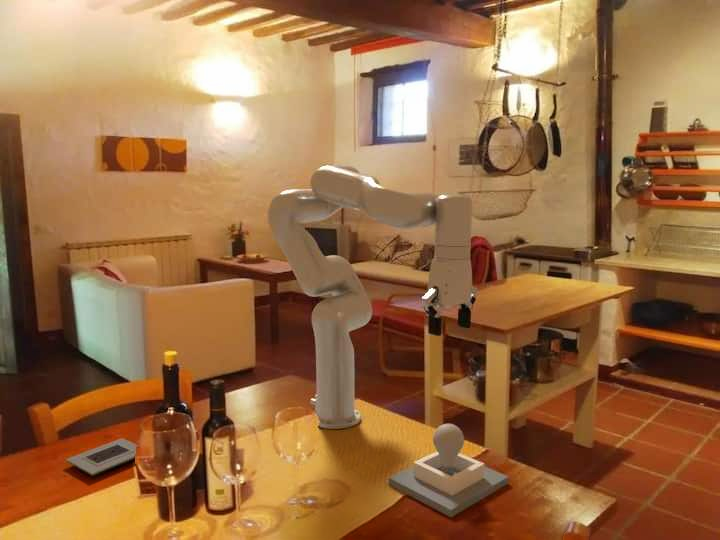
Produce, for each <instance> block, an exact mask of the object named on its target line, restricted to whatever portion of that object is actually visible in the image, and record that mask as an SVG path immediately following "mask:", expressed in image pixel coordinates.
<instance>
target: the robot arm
mask: <svg viewBox="0 0 720 540" xmlns="http://www.w3.org/2000/svg"><path fill="white" fill-rule="evenodd" d="M309 181H310V188H308V189H307V188H306V189H301V188H300V189H288V190H284V191H281V192H279V193H277V194H276V195H275V196H274V197H272V200H271V201H270V203H269V206H268V210H267V211H268V212H267V222H268V226H269V229H270V232H271V234H272V237H273V238H274V240H275V241H276V243H277V244H278V245H279V247H280V249H281V250H282V252H283V254H284V256H285V258H286V260H287V262H288V264H289V266H290V269H291V270H292V272H293V274H294V276H295V278H296V280H297V282H298V284H299V286H300V288H301V290H302V292H303V293H304V294H306V295H307V296H308V297H312V298H313V297H315V298H316V297H320V296H325V295H329V294H331V296H330V297H327V298H325V299H323V300H321V301H319V302H318V303H316V305H315V306H314V308H313V310H312V313H311V326H312V329H313V335H314V342H315V363H316V365H315V367H316V373H315V374H316V394H315V395H314V397H313V398H311V399H310V400H309V401H310V402H309V403H310V404H311V405H313V406H314V409H315V410H314V411H313V412H315V413H316V414H317V416H318V421H319V426H318V427H319V428H323V429H329V430H341V429H348V428H352V427H354V426H355V425H358V424H359V422H360V421H361V417H362V416H361V413H360V411H359V410H358V409H355V407H356V406H355V349H354V345H353V343H352V340H351V337H350V332H352V331H354V330H356V329H357V330H358V329H360V328H363V327H364V326H365V325H367V324H368V323H369V322H370V320H371V318H372V316H373V307H372V303H371V300H370V298H369V296H368V294H367V292H366V289H365V288H364V286H363V283H362V282H361V280H360V278H359V276H358V275H357V272H356V271H355V269H354V267H353V266H352V264H351V263H350V262H349V260H347V258H344V257H343V256H340V255H335V254H334V255H327V256H325V255H324V254H323V252H322V250H321V249H320V248H319V246H318V243H317V241H316V240H315V238H314V237H313V236H312V234H311V233H309V231H308V230H306V229H305V227H304V226H303V225H302V224H305V223H316V222H321V221H324V220H327V219H328V218H330V217H331V216H334V215H335V214H336V213H337V212H340V210H342V209H344V208H348V209H351V210H355V211H357V212H361V213H363V214H364V216H367V217H368V218H369V219H371V220H374V221H375V222H378V223H381V224H385V225H388V226H391V227H395V228H399V229H403V230H414V229H420V228H427V227H434V229H435V233H434V234H435V235H434V237H435V238H434V258H433V259H432V261H431V264H430V267H429V273H428V274H429V275H428V279H427V280H428V281H427V293H425V295H423V296H422V298H421V303H422V305H423V310H424V311H425V313H426V316H427V317H428V327H427V331H428V334H430V335H433V336H435V337H436V336H437V337H439V336H442V328H443V327H442V326H443V325H442V324H443V322H442V320H443V318H442V317H441V315H442V313H443V311H444V310H445V308H451V307H457V306H459V308H458V309H457V325H458V327H461V328H465V329H470V328H471V326H472V324H471V321H472V311H473V309H474V304H475V302H476V299H477V298H476V297H477V294H478V292H479V289H478V288H477V287H476V286H475V285H473V272H472V271H473V269H472V261H471V245H472V244H471V242H472V218H473V217H472V215H473V199H472V198H471V197H470V196H468V195H465V194H439V193H434V192H411V193H409V192H408V193H407V192H401V191H397V190H394V189H390V188H387V187H384V186H381V185H380V181H379V180H378V179H377V178H376V177H375V176H372V175H368V174H364V173H361V172H360V171H359V170H357V168H355V167H353V166H349V165H324V166H321V167H319V168H317V169H316V170H315V171H314V172H313V174H312V175H311V177H310V180H309ZM436 308H437V309H436Z"/></svg>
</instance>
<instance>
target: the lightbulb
mask: <svg viewBox="0 0 720 540" xmlns="http://www.w3.org/2000/svg"><path fill="white" fill-rule="evenodd" d="M432 436H433V437H432V442H433V446H434V447H435V449H436V451H438V453H439V457H440V464H441V472H443V473H445V474H448V475H450V476H453V475H454V470H455V465H456V459H457V456H458V454H459V453H461V451H462V448H463V447H464V445H465V436H464V434H463V431H462V430H461V429H460V428H459V427H458V426H456V425H455V424H453V423H444V424H441V425H439V426H438V427H437V428H436V429H435V430H434V433H433V435H432Z"/></svg>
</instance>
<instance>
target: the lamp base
mask: <svg viewBox="0 0 720 540" xmlns="http://www.w3.org/2000/svg"><path fill="white" fill-rule="evenodd" d="M412 463H413V465H412V466H410V467H408V468H406V469H403V470H401V471H400V472H397V473H395V474H393V475H391V476H389V477H388V485H389V486H391V487H392V488H394V489H397V490H399V491H400V492H402V493H404V494H406V495H407V496H409V497H411V498H414V499H415V500H417V501H419V502H421V503H422V504H423V505H424V504H425V505H426V506H428V507H430V508H432V509H434V510H436V511H438V512H440V513H441V514H444V515H446V516H447V517H449V518H452V517H454V516H456V515H458V514H459V513H461V512H463V511H464V510H466V509H467V508H469V507H471V506H473V505H475V504H477V503H478V502H480V501H481V500H483V499H485V498H486V497H488V496H489V495H492V494H493V493H495V492H497V491H499V489H501V488H504V487H505V486H506V485H508V484H509V476H508V475H506V474H503V473H501V472H499V471H496V470H494V469H492V468H490V467H487V466H485V463H484V462H482V461H479V460H477V459H474V458H473V457H469V456H467V455H465V454H463V453H461V452H459V454H458V456H457V459H456V465H455V470H454V475H453V476H450V475H448V474H445V473H443V472H441V464H440V457H439V453H438V451H437V450H436V451H434V452H433V453H430V454H428V455H426V456H424V457H422V458H420V459H418V460H415V461H413V462H412Z"/></svg>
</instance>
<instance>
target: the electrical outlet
mask: <svg viewBox="0 0 720 540" xmlns="http://www.w3.org/2000/svg"><path fill="white" fill-rule="evenodd" d="M136 447H137V444H136V443H134V442H132V441H129V440H128V439H125V438H118V439H116V440H112V441H110V442H108V443H104V444H102V445H99V446H97V447H95V448H92V449H90V450H87V451H84V452H82V453H79V454H77V455H76V454H75V455H74V456H71V457H68V458H65V461H66V462H67V463H69V464H71V465H72V466H74V467H76V468H78V469H80V470H81V471H83V472H85V473H87V474H89V475H90V476H92V477H95V476H97V475H100V474H102V473H104V472H107V471H109V470H111V469H112V470H113V469H114V468H117V467H119V466H122V465H124V464H126V463H129V462H131V461H133V459H134V458H135V454H136ZM134 460H135V459H134Z"/></svg>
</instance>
